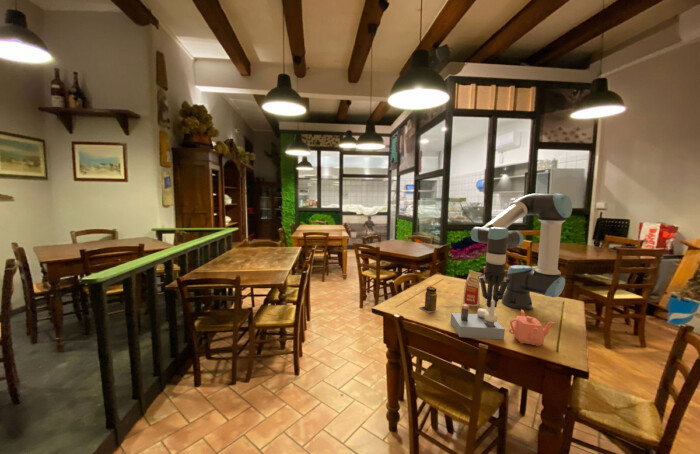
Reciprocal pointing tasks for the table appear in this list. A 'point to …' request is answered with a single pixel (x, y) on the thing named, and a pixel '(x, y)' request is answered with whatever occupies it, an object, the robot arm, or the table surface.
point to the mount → (476, 327)
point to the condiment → (430, 300)
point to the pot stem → (464, 312)
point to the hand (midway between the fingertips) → (490, 313)
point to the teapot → (529, 329)
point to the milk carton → (472, 289)
